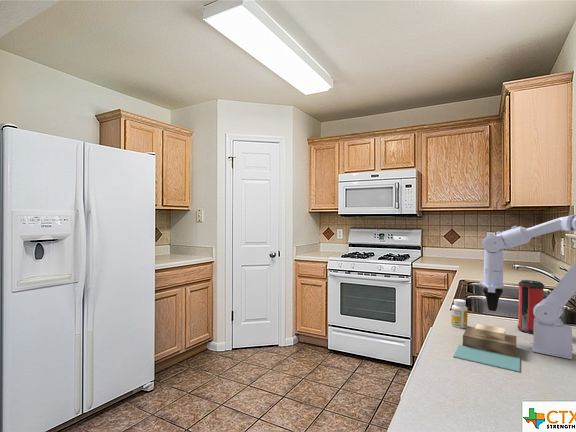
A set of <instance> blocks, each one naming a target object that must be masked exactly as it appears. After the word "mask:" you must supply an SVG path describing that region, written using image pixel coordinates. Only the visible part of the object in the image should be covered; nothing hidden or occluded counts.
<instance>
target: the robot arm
mask: <svg viewBox="0 0 576 432" xmlns="http://www.w3.org/2000/svg"><path fill="white" fill-rule="evenodd" d="M558 231H567V232H576V214H572V215H567V216H562V217H557V218H555V219H552V220H549V221H546V222H542V223H540V224H537V225H534V226H531V227H527V228H526V227H524V226H521V225H520V226H517V225H513V226H511V228H510V229H507V230H504V231H496V234H489V235H488V236H487V235H486V236H485V237H484V238H483V239H482V243H481V245H482V247H483V249H484V251H483V252H484V253H483V255H484V256H483V281H481V280H480V281H479V285H482V286H485V287H484V288H482V292H483V294H484V296H485V299H486V305H487V308H488V309H487V310H488V311H491V312H497V309H498V305H499V300H500V298H501V296H502V295H503V292H504V289H503V288H504V287H505V285H504V251H505V249H511V248H515V247H519V246H522V245H525V244H529V243H530V240H531V239H532V238H534V237H539V236H542V235H546V234H551V233H554V232H558ZM566 271H567V272H565V274H564V275H563V277H562V278H561V280H559V282H558V283H557V284H556V285H555V287H554V288H553V290H551V291H550V293H549V294H548V296H547V297H545V298H543V300H542V301H541V302H540V303H539V304H537V305H536V306H535V307H534V309H533V314H534V316H535V318H534V334H532V335H533V341H532V342H531V352H534V353H539V354H543V355H547V356H548V355H549V356H553V357H559V358H564V359H569V360H572V358H573V357H572V355H573V354H572V353H573V349H574V348H573V329H572V326H571V325H567V324H564V322H563V320H562V319H561V318H560V317H562V315H563V314H564V308H565V306H566V304H567V303H568V301H570V299H571V297H573V296H574V294H575V293H576V260H575V261H574V262H573V264H571V266H570V267H569V269H568V270H566Z"/></svg>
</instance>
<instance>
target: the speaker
mask: <svg viewBox="0 0 576 432" xmlns="http://www.w3.org/2000/svg"><path fill="white" fill-rule="evenodd" d="M545 286H546V285H545V284H544V283H542V282H541V281H538V280H537V281H536V280H530V279H523V280H522V279H521V280H520V281H519V282H518V293H519V294H518V320H517V321H518V322H517V329H518V330H519V331H520V332H523V333H527V334H531V335H534V318H535V316H534V314H533V309H534V307H535V306H536V305H537V304H539V303H540V302H541V301H542V300H543V299H544V288H545Z"/></svg>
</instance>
